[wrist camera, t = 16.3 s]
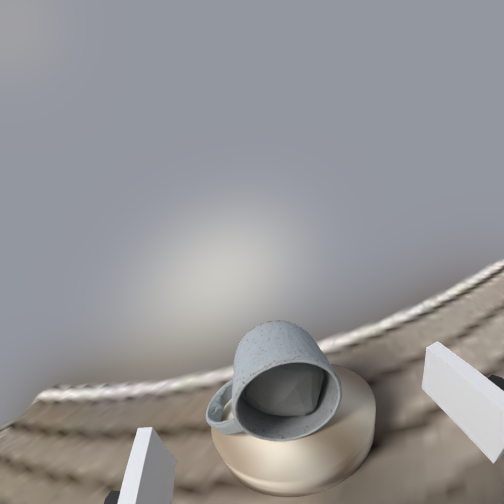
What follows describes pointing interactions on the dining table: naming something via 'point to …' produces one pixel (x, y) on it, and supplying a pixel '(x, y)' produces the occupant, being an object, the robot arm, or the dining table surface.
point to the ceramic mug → (277, 386)
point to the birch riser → (305, 447)
